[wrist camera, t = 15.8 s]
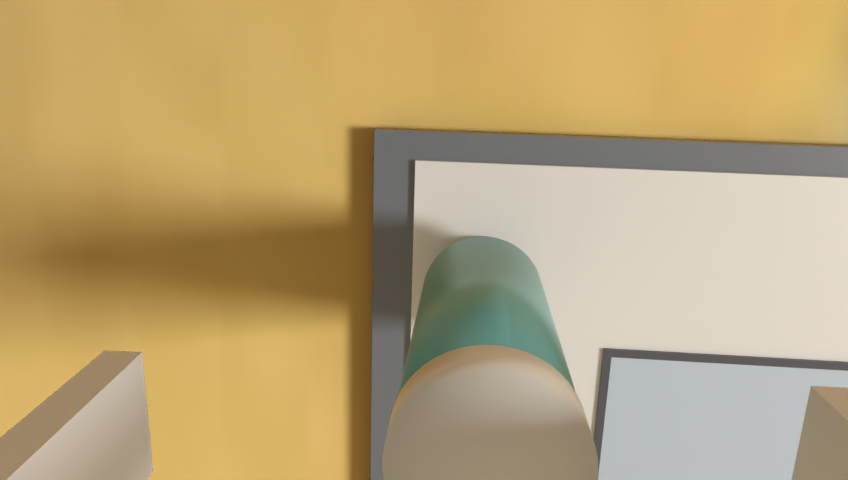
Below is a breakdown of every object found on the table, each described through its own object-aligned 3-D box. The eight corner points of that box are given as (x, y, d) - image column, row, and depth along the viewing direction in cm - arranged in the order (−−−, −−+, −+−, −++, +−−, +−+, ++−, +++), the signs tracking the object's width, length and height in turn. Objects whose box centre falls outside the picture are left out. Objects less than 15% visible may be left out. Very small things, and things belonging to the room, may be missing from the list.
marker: (427, 327, 25) (386, 558, 13) (424, 221, 24) (376, 370, 12) (537, 328, 25) (593, 563, 13) (538, 220, 24) (602, 371, 12)
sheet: (371, 584, 29) (368, 604, 28) (377, 127, 24) (372, 130, 23) (1040, 638, 28) (1063, 661, 27) (1198, 158, 22) (1235, 163, 21)
